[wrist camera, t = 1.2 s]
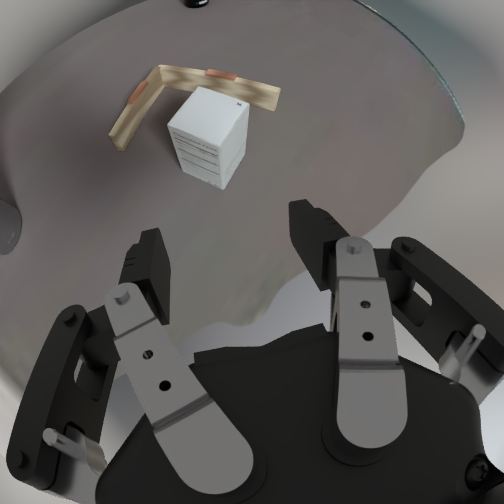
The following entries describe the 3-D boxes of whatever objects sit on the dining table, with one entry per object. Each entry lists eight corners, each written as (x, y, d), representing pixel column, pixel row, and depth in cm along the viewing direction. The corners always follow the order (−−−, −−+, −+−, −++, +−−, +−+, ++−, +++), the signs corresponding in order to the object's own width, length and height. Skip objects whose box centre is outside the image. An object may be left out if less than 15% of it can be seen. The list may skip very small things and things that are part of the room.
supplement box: (205, 136, 42) (199, 83, 30) (246, 154, 42) (252, 102, 30) (180, 172, 41) (164, 124, 28) (223, 192, 40) (220, 146, 28)
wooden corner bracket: (118, 150, 41) (107, 132, 35) (161, 82, 44) (156, 62, 38) (246, 184, 41) (249, 167, 35) (276, 106, 44) (281, 86, 39)
